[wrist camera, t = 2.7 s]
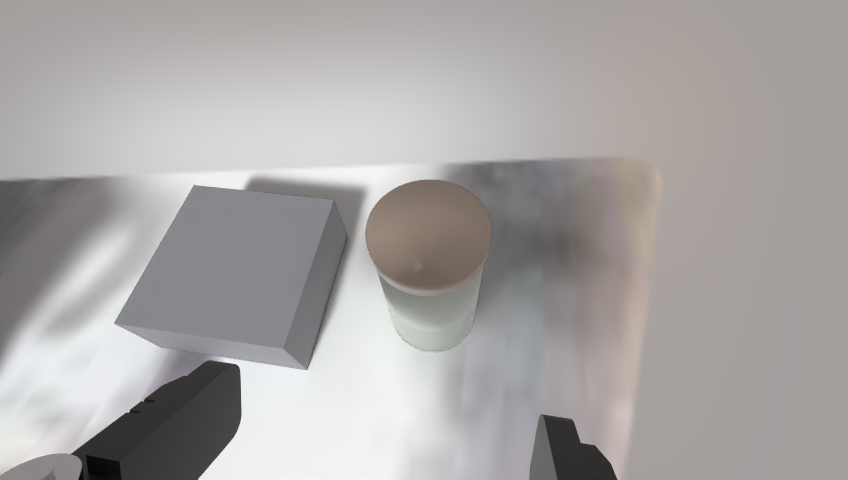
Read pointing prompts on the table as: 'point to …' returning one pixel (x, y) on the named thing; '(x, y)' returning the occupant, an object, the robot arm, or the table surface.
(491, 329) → the table surface
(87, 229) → the table surface
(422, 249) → the canister
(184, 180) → the table surface
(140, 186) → the table surface
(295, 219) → the stand
